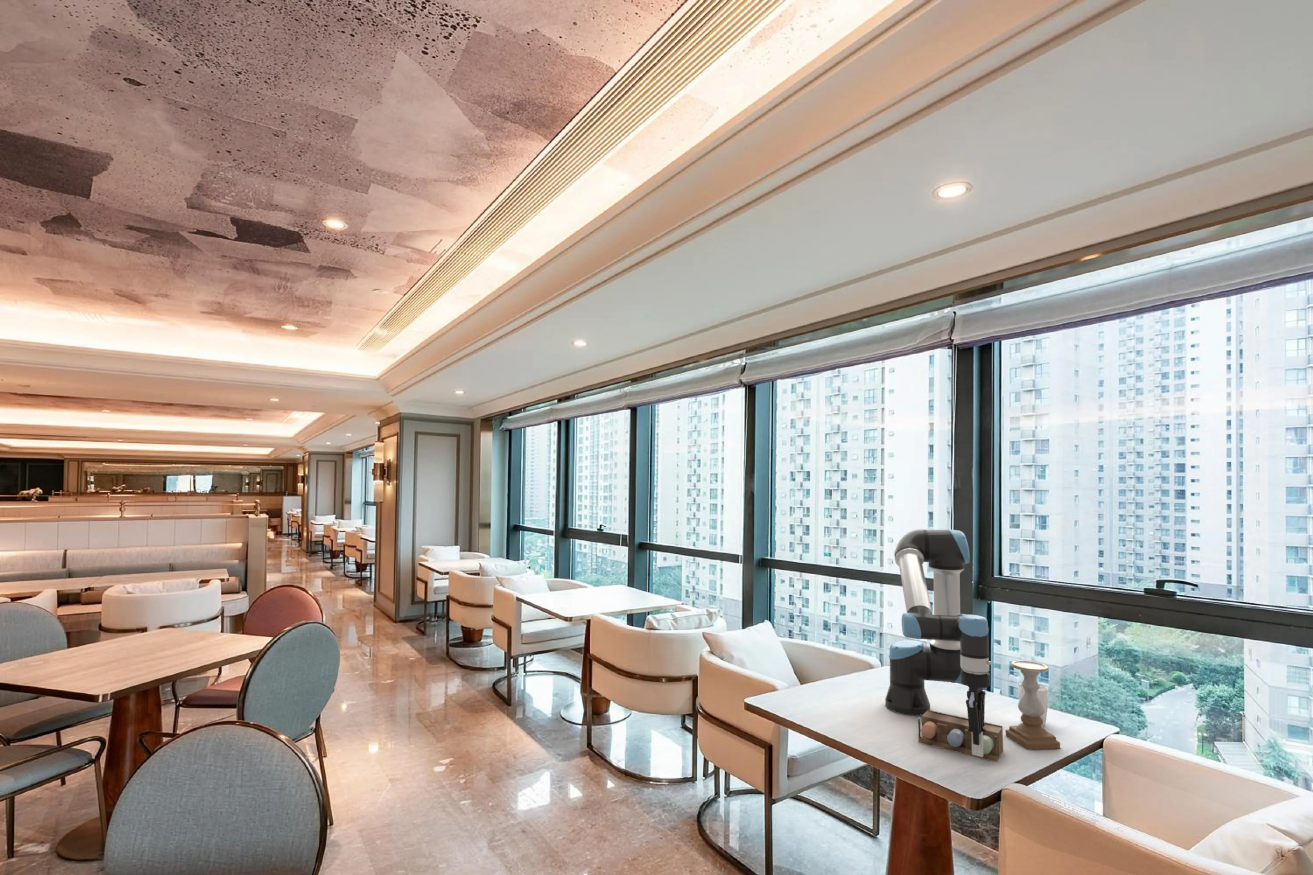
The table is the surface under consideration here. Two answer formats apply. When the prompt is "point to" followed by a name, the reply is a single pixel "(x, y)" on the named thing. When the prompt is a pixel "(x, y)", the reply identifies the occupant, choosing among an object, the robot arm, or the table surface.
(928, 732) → the button terracotta
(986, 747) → the button sage
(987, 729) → the console
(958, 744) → the button slate
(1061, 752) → the table surface
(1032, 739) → the candle holder
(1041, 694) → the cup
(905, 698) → the robot arm
